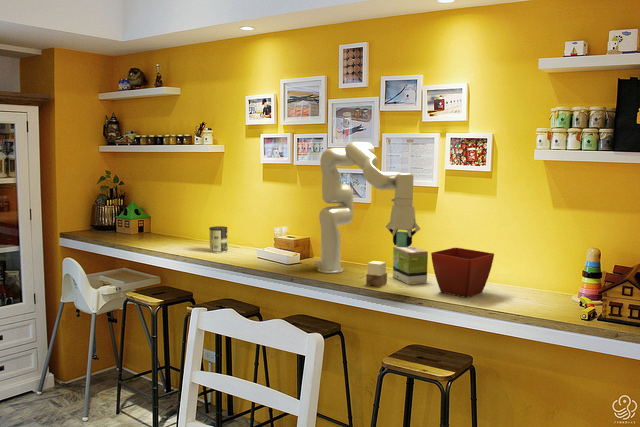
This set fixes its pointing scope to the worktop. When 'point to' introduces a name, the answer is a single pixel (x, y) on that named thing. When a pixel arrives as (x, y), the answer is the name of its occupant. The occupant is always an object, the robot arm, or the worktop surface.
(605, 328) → the worktop surface
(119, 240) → the worktop surface
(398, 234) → the teal block
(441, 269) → the plant pot
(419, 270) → the tea box
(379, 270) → the cream block
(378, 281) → the walnut base block
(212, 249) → the coffee can
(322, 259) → the robot arm
